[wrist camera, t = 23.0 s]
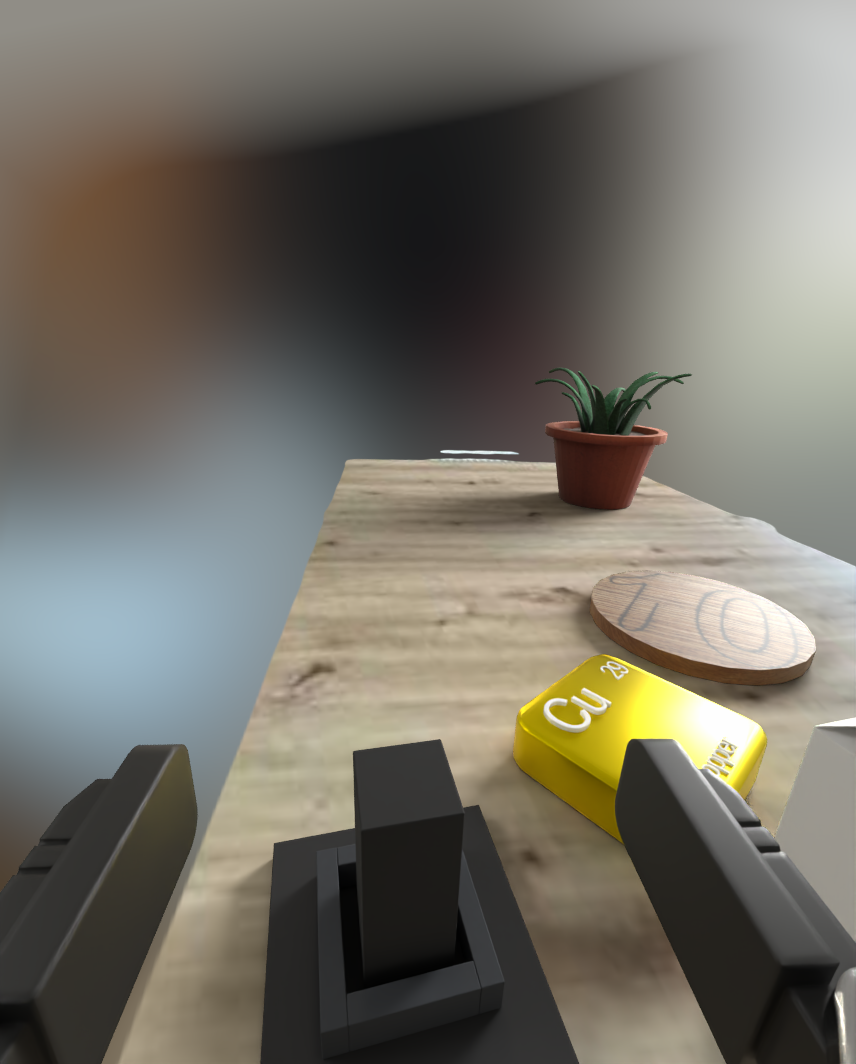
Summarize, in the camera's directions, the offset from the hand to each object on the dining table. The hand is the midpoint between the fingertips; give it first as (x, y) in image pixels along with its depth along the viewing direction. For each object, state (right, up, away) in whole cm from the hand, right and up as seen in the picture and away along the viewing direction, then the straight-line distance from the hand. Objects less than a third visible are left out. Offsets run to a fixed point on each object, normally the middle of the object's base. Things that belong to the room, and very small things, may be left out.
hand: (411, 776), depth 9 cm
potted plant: (+42, +13, +113) cm, 121 cm away
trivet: (+34, -8, +54) cm, 64 cm away
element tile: (+17, -15, +31) cm, 39 cm away
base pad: (-1, -19, +18) cm, 26 cm away
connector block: (-1, -18, +18) cm, 25 cm away
